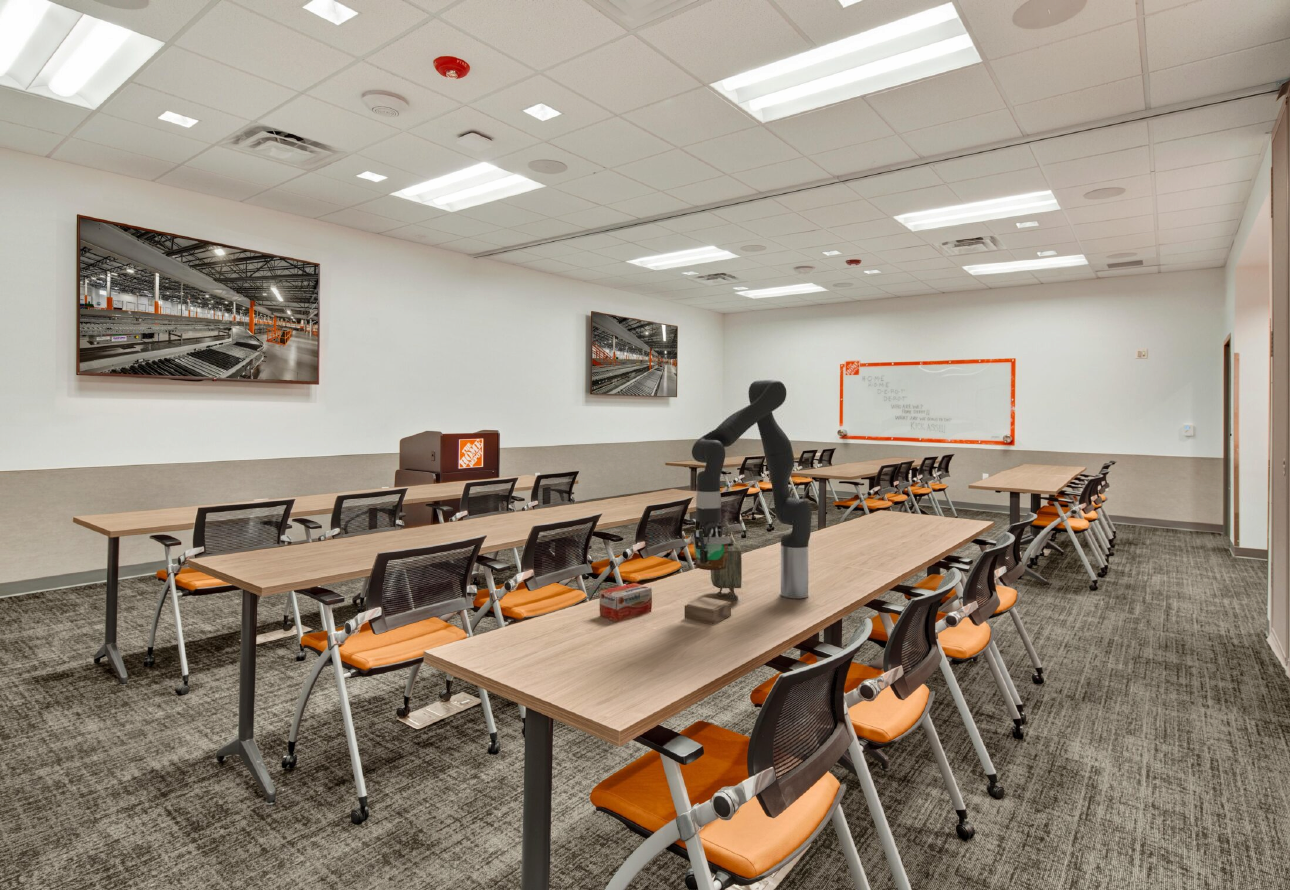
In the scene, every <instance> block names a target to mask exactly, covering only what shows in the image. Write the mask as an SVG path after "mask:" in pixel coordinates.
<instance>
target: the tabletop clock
mask: <svg viewBox="0 0 1290 890" xmlns="http://www.w3.org/2000/svg"><path fill="white" fill-rule="evenodd" d="M726 536H729V525H728V523H727V522H725V523H724V537H726ZM729 538H730V542H731V543H728V552H727V562H726V568H725V569H722V570H710V580H711V583H712V586H713V587H715V588H717V589H719V591H718V592H717V596H718V597H722V596H723V592H722V591H723V589H728V590H729V592H731V594H732V595H733V597H732V599H733V600H734V601H737V600H738V599H739V596H738V595H737V594H736V593H735V589H742V582H743V581H742V571H743V570H742V568H743V566H742V564H743V562H742V560H743V558H742V548H741V546H740V544H739V543H738V542H735V540H734V539H733V538H732V537H731V536H729Z"/></svg>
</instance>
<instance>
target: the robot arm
mask: <svg viewBox="0 0 1290 890" xmlns="http://www.w3.org/2000/svg"><path fill="white" fill-rule="evenodd" d="M786 398H787V387H786V386H785V384H784V383H783V382H782V381H780V380H777V379H763V380H755V381H753V382H752V383H751V384H750V385H749V387H748V399H749V405H747V406H745V407H743V408H741V409H740V410H737V411H736V412H734V413H732V414H731V415H729V416H728V417H726V419H725V420H723V421H722V422H721V423H720V424H719V425H718V426H717V427H716V428H715V429H713V430H711V431H709V432H708V433H706V434H705V435H703V436H701V437H700V438H698V439H697V440H696V441H695V442H694V443H693V445H692V449H691V456H692V458H693V459H694V460H695V461H696V462H698V463H702V464H705V467H704V470H702V471H699V472H698V473H697V476H696V495H695V496H696V497H695V510H696V511H695V516H696V517H695V518H696V519H695V520H696V522H699V527H698V528H699V529H694V530H693V534H694V539H695V548H696V549H698V550H700V562H701V563H707V562H708V551H707V549H708V544H707V543H708V542H709V537H723V530H724V526H723V524H718V523H719V522H721V521H722V497H721V474H722V471H723V468H724V464H725V460H726V448H727V447H730V446H733V444H735V443H736V442H737V440H738V439H739V438H740V437H741V436H743V435H744V433H747V431H748V430H749V429H750V428H752V426H754V425H755V424H756V425H757V429H758V431H759V435H760V440H761V444H762V447H763V454H764V458H765V462H766V465H767V470H768V473H769V478H770V484H771V488H772V497H773V504H774V505H773V506H774V513H775V517H776V518H777V520H778V521H779V522H780V524H783V525H789V526H792V529H791V532H790V533H787V534H783V535H782V536H781V538H780V596H782V597H784V598H787V599H805V598H807V597H809V541H810V538H811V529H812V506H811V504H810V503H809V501H808V500H806V499H803V498H793V497H791V493H790V489H789V481H790V478H791V475H792V472H793V470H794V467H795V456H794V451H793V447H792V443H791V441H790V439H789V437H788V436H787V435H786V433H785V432H784V430H783V429H782V428H781V426H779V424H778V423H777V420H776V419H775V417H774V413H773V412H774V411H776V409H778V408H779V407H781V406H782V405H783V404H784V402H785V401H786ZM703 537H708V539H707V540H708V542H707V543H706V544H705V547H704V538H703ZM698 542H700V543H701V544H698Z"/></svg>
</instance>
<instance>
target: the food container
mask: <svg viewBox="0 0 1290 890" xmlns="http://www.w3.org/2000/svg"><path fill="white" fill-rule="evenodd" d="M729 537H730V536H729V535H728V536H726V537H725V536H722V537H719V536H718V537H709V542H708V540H707V539H708V537H703V538H704V547H705V544H706V543H707V542H708V543H707V544H708V549H707V551H708V562H707V563H701V562H700V550H698V549H696V548H695V539H694V533H693V535H692V536H691V542H692V543H693V547H694V548H693V549H694V550H693V551H694V559H695V567H696V569H699V570H703V571H711V570H722V569H725V568H726V562H727V552H728V543H731V542H730V538H729ZM698 544H701V543H700V542H698Z"/></svg>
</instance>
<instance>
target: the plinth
mask: <svg viewBox="0 0 1290 890" xmlns="http://www.w3.org/2000/svg"><path fill="white" fill-rule="evenodd" d="M730 616H732V602H731V601H727V600H722V599H716V598H710V597H705V596H702V597H701V598H699V599H696V600H694V601H692V602H690V603H688V604H685V605H684V620H689V621H694V622H699V623H704V624H709V625H715V624H718V623H719V622H721V621H723V620H725V619H727V618H728V617H730Z"/></svg>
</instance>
